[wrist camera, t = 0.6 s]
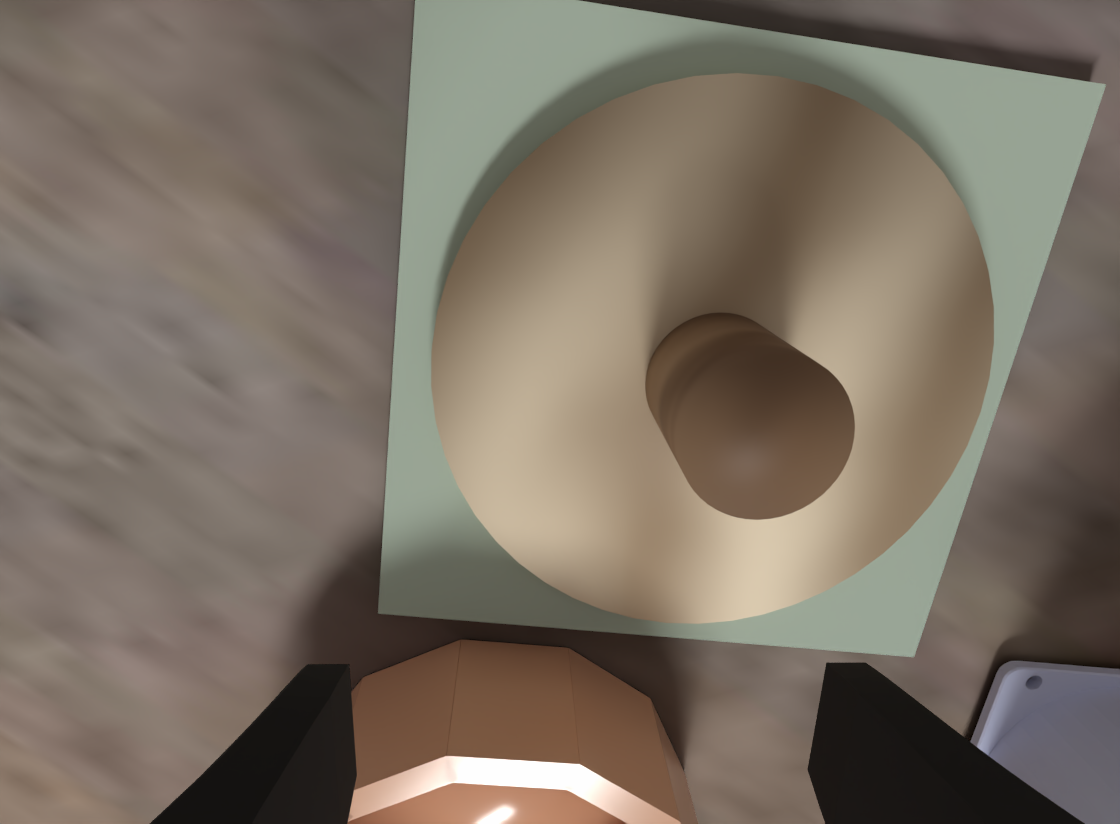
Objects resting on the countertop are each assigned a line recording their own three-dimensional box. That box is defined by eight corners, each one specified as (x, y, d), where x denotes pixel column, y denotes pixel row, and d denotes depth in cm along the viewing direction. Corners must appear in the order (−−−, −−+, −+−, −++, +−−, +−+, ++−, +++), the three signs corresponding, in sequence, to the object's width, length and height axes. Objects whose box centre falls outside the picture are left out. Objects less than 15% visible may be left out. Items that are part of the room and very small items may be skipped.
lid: (1051, 124, 17) (1241, 107, 13) (891, 626, 22) (990, 748, 17) (459, 33, 16) (435, -20, 11) (415, 585, 20) (385, 705, 16)
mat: (1090, 86, 17) (1106, 84, 17) (905, 646, 22) (913, 657, 22) (420, -20, 16) (416, -26, 16) (381, 603, 21) (378, 613, 21)
